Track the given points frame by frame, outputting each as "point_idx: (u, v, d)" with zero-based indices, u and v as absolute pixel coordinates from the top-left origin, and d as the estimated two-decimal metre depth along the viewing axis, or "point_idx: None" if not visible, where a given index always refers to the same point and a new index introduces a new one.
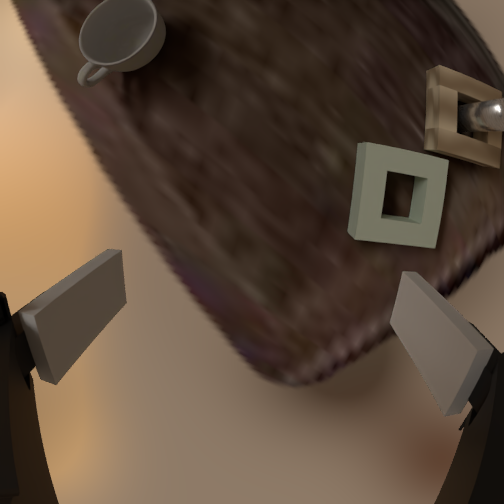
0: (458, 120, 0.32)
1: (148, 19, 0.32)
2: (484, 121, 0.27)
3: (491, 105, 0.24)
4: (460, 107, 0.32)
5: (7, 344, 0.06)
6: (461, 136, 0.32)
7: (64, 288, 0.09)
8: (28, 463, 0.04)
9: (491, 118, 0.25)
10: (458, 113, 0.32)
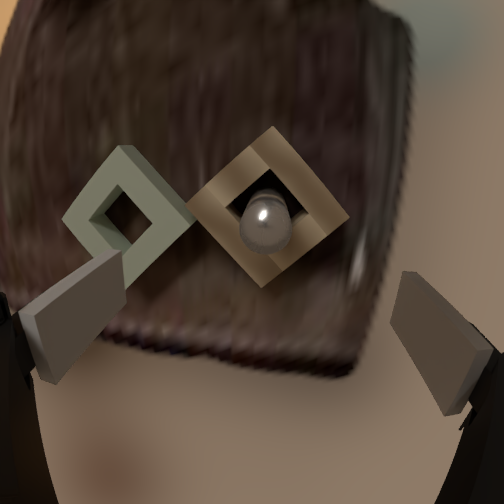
0: None
1: None
2: None
3: (255, 202, 0.24)
4: (265, 189, 0.32)
5: (7, 344, 0.06)
6: (228, 215, 0.31)
7: (64, 288, 0.09)
8: (28, 463, 0.04)
9: None
10: (255, 193, 0.32)
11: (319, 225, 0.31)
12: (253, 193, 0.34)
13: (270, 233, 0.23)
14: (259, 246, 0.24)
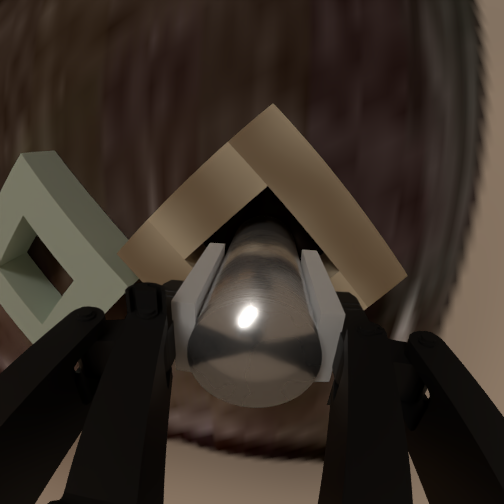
0: None
1: None
2: None
3: (228, 285, 0.10)
4: (258, 225, 0.17)
5: (158, 341, 0.07)
6: None
7: (202, 278, 0.11)
8: (150, 473, 0.04)
9: None
10: (240, 233, 0.17)
11: (356, 291, 0.17)
12: (238, 229, 0.19)
13: (266, 370, 0.09)
14: (238, 394, 0.09)
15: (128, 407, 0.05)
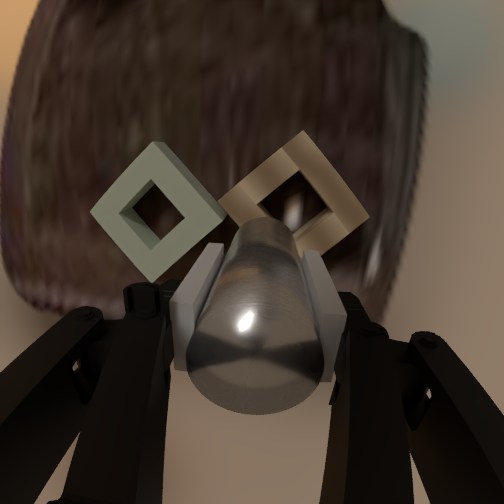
0: None
1: None
2: None
3: (228, 290, 0.09)
4: (259, 227, 0.17)
5: (156, 341, 0.07)
6: (259, 212, 0.34)
7: (201, 277, 0.11)
8: (149, 473, 0.04)
9: None
10: (240, 234, 0.17)
11: (342, 223, 0.33)
12: (238, 231, 0.19)
13: (267, 377, 0.08)
14: (238, 401, 0.09)
15: (127, 407, 0.05)
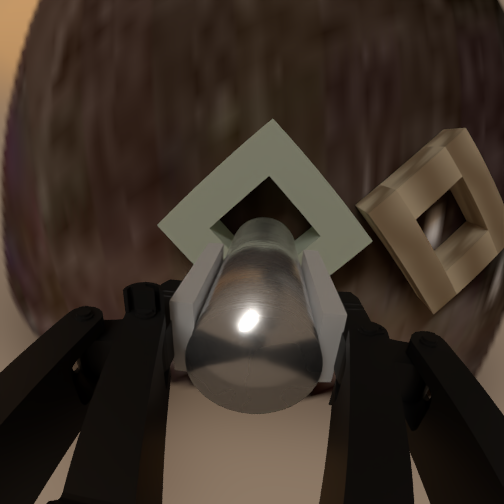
0: None
1: None
2: None
3: (228, 290, 0.09)
4: (258, 227, 0.17)
5: (156, 341, 0.07)
6: (418, 230, 0.23)
7: (201, 278, 0.11)
8: (149, 473, 0.04)
9: None
10: (239, 234, 0.17)
11: (493, 243, 0.22)
12: (237, 231, 0.19)
13: (266, 375, 0.09)
14: (237, 400, 0.09)
15: (127, 407, 0.05)
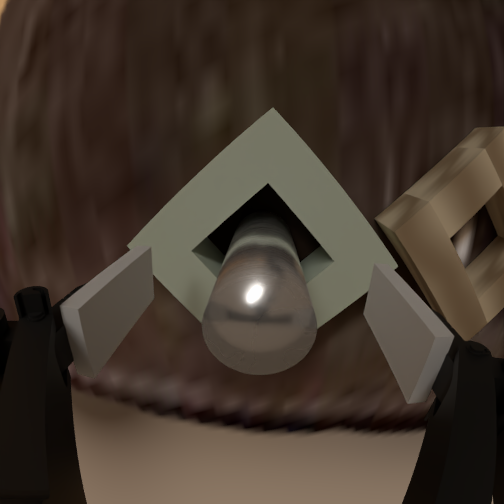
0: None
1: None
2: None
3: (237, 267, 0.11)
4: (259, 219, 0.19)
5: (47, 340, 0.07)
6: (452, 251, 0.17)
7: (103, 282, 0.10)
8: (60, 463, 0.04)
9: None
10: (242, 226, 0.19)
11: None
12: (239, 223, 0.21)
13: (270, 338, 0.11)
14: (245, 361, 0.11)
15: (29, 402, 0.04)
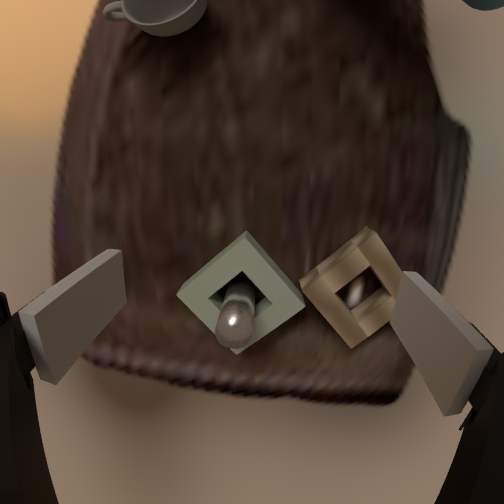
0: (226, 291, 0.41)
1: None
2: None
3: (226, 311, 0.33)
4: (238, 284, 0.41)
5: (7, 344, 0.06)
6: (336, 299, 0.39)
7: (64, 288, 0.09)
8: (28, 463, 0.04)
9: None
10: (230, 287, 0.41)
11: None
12: (229, 283, 0.43)
13: (237, 335, 0.32)
14: (229, 343, 0.33)
15: None
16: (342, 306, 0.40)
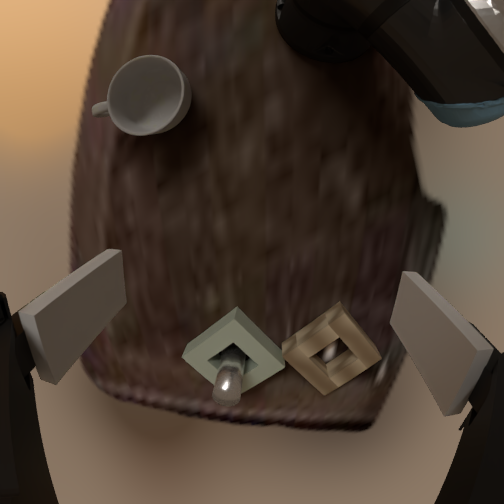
0: None
1: None
2: None
3: (220, 381, 0.41)
4: (231, 349, 0.49)
5: (7, 344, 0.06)
6: (310, 362, 0.47)
7: (64, 288, 0.09)
8: (28, 463, 0.04)
9: (214, 385, 0.42)
10: (225, 351, 0.49)
11: (363, 364, 0.47)
12: None
13: (229, 398, 0.41)
14: (223, 403, 0.41)
15: None
16: (315, 366, 0.47)
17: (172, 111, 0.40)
